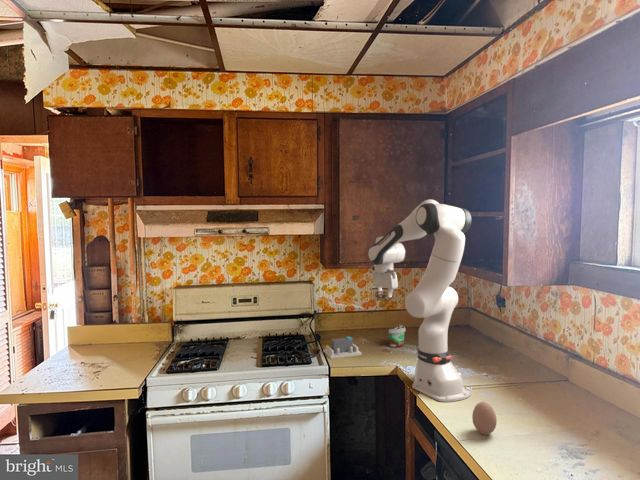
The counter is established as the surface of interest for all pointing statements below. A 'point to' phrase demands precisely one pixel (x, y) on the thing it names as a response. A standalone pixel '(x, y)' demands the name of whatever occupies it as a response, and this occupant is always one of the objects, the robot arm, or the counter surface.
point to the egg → (484, 418)
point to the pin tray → (330, 353)
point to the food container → (397, 336)
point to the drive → (342, 344)
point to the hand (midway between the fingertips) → (385, 295)
